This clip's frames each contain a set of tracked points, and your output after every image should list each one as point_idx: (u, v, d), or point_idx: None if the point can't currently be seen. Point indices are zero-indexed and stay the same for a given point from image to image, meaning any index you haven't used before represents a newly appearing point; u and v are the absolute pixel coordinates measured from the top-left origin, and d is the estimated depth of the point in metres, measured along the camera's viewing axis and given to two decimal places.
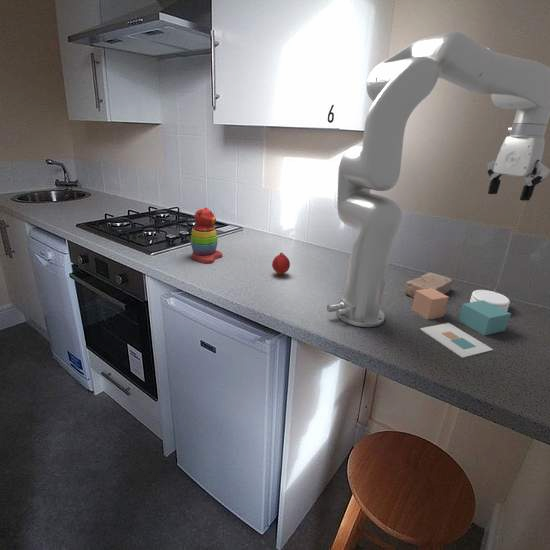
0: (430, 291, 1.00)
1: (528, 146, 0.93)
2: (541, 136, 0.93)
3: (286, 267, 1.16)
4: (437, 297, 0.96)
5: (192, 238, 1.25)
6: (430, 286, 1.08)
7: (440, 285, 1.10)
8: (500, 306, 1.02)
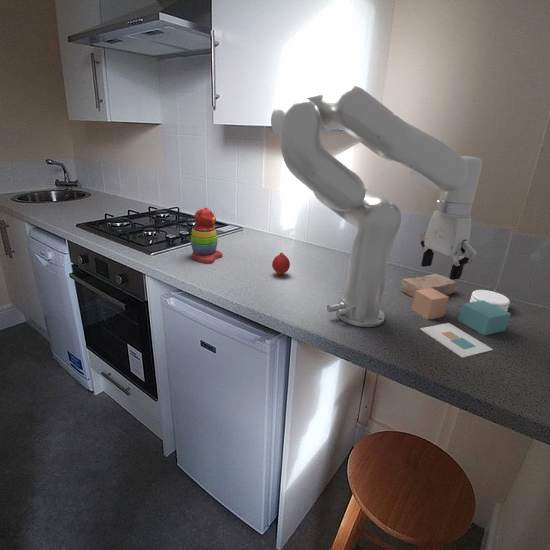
0: (430, 291, 1.00)
1: (454, 226, 0.87)
2: (467, 215, 0.87)
3: (286, 267, 1.16)
4: (437, 297, 0.96)
5: (192, 238, 1.25)
6: (425, 285, 1.09)
7: (438, 285, 1.10)
8: (500, 306, 1.02)
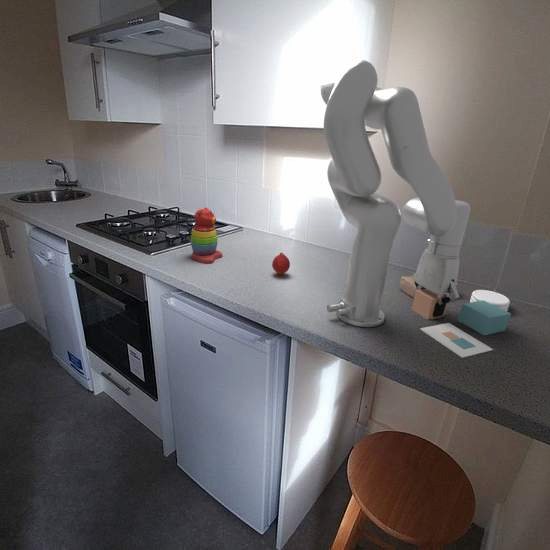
0: (430, 291, 1.00)
1: (442, 266, 0.91)
2: (455, 256, 0.91)
3: (286, 267, 1.16)
4: (437, 297, 0.96)
5: (192, 238, 1.25)
6: None
7: None
8: (500, 306, 1.02)
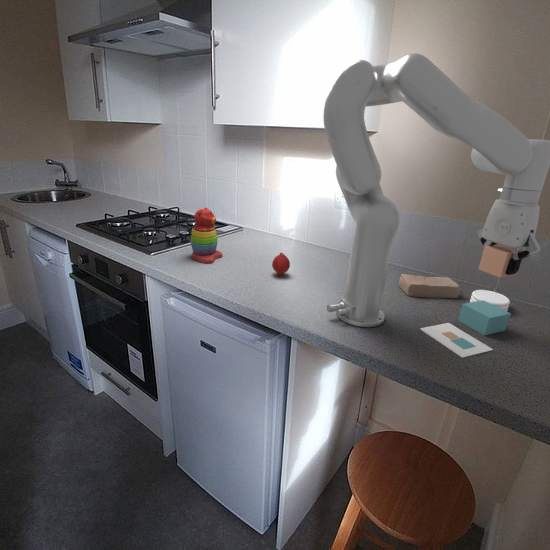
0: (500, 247, 0.89)
1: (521, 215, 0.81)
2: (535, 203, 0.81)
3: (286, 267, 1.16)
4: (511, 252, 0.86)
5: (192, 238, 1.25)
6: (418, 282, 1.11)
7: (432, 285, 1.10)
8: (500, 306, 1.02)
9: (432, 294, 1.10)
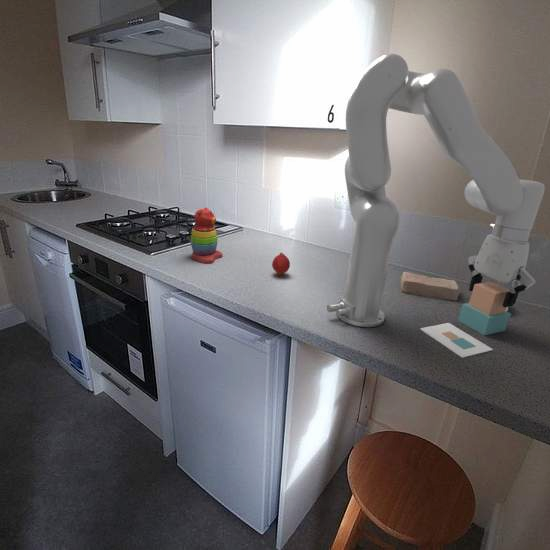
0: (490, 285, 0.93)
1: (511, 252, 0.84)
2: (525, 241, 0.84)
3: (286, 267, 1.16)
4: (500, 291, 0.89)
5: (192, 238, 1.25)
6: (414, 279, 1.12)
7: (429, 284, 1.10)
8: None
9: (428, 294, 1.11)
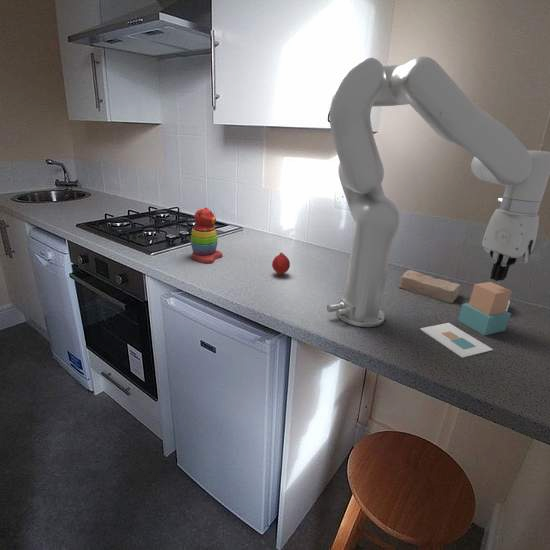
0: (490, 285, 0.93)
1: (521, 225, 0.81)
2: (535, 213, 0.81)
3: (286, 267, 1.16)
4: (500, 291, 0.89)
5: (192, 238, 1.25)
6: (413, 277, 1.14)
7: (425, 283, 1.11)
8: None
9: (423, 292, 1.11)
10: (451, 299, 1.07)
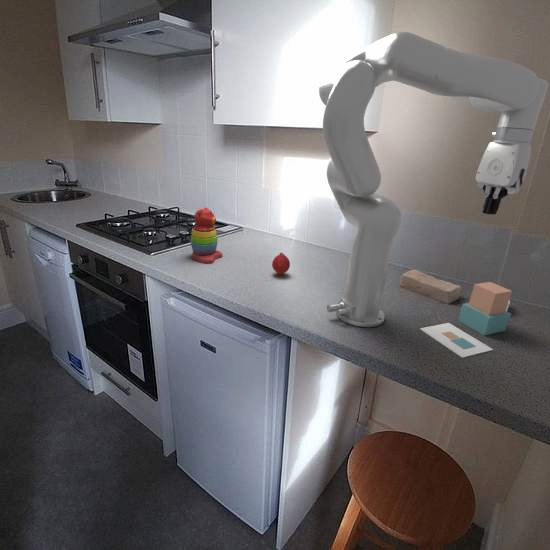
0: (490, 285, 0.93)
1: (513, 153, 0.84)
2: (527, 142, 0.83)
3: (286, 267, 1.16)
4: (500, 291, 0.89)
5: (192, 238, 1.25)
6: (413, 276, 1.15)
7: (423, 282, 1.12)
8: None
9: (421, 291, 1.12)
10: (447, 300, 1.07)
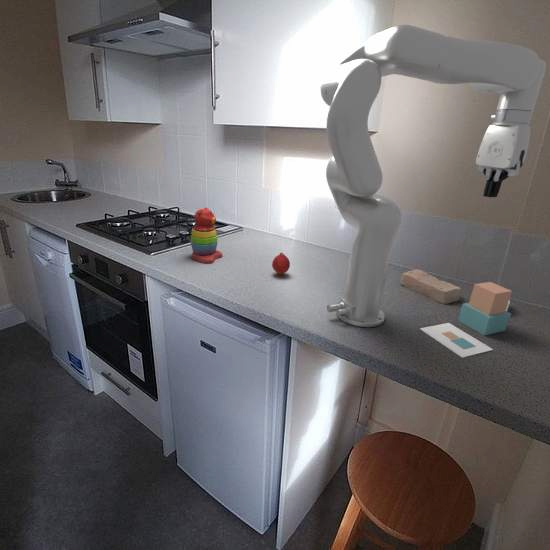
0: (490, 285, 0.93)
1: (513, 135, 0.84)
2: (527, 124, 0.84)
3: (286, 267, 1.16)
4: (500, 291, 0.89)
5: (192, 238, 1.25)
6: (414, 275, 1.16)
7: (422, 281, 1.12)
8: None
9: (420, 290, 1.12)
10: (443, 300, 1.06)
